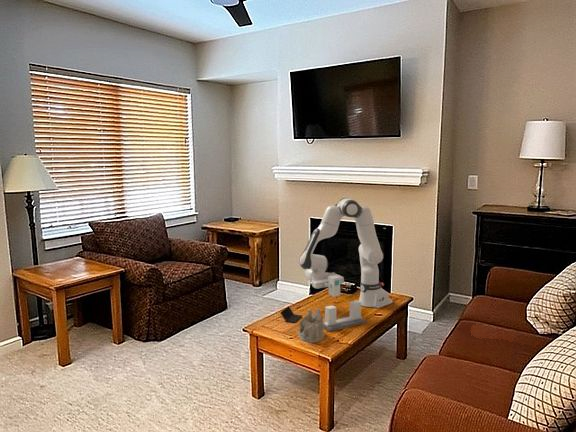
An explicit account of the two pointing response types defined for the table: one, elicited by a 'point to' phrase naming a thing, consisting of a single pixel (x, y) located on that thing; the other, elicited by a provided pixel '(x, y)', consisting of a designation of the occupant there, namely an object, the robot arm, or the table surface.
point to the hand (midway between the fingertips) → (335, 285)
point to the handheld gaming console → (290, 315)
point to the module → (334, 285)
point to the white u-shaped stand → (343, 322)
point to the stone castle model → (311, 327)
